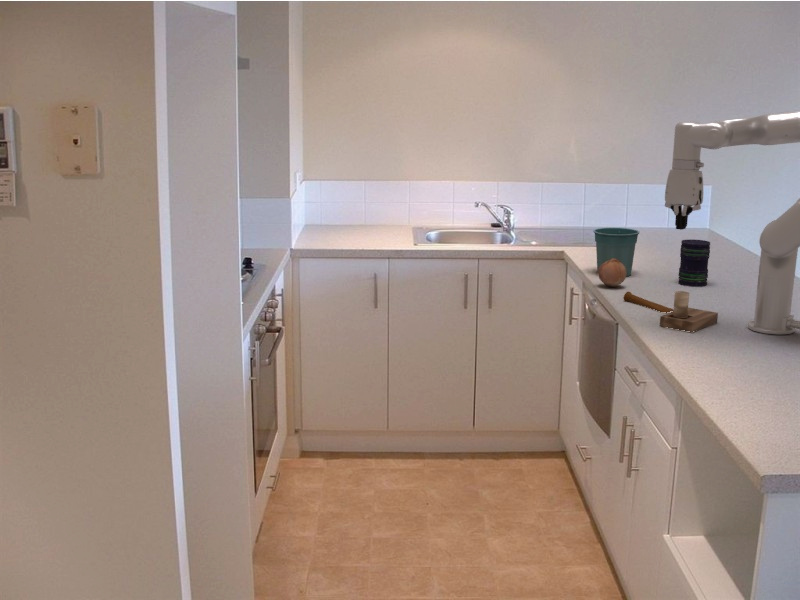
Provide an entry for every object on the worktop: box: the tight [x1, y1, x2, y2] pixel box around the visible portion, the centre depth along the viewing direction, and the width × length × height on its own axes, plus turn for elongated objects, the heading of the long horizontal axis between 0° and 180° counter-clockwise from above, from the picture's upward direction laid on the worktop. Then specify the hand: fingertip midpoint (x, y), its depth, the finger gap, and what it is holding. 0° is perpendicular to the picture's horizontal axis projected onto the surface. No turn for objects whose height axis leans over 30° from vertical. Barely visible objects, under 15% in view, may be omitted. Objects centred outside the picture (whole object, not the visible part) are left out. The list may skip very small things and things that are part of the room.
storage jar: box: [677, 239, 711, 288], centre depth 329 cm, size 10×10×15 cm
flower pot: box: [593, 227, 641, 277], centre depth 344 cm, size 16×16×16 cm
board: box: [659, 307, 719, 333], centre depth 275 cm, size 10×16×3 cm, turn 137°
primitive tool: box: [622, 291, 674, 314], centre depth 297 cm, size 19×6×4 cm, turn 35°
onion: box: [597, 258, 627, 288], centre depth 324 cm, size 10×9×10 cm
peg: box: [672, 290, 690, 320], centre depth 272 cm, size 4×4×10 cm
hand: (680, 228), depth 276 cm, fingers closed
